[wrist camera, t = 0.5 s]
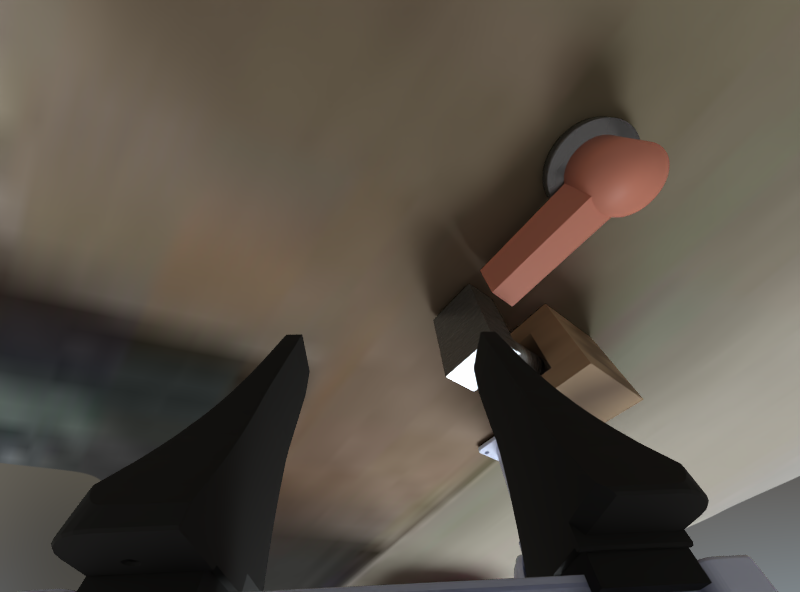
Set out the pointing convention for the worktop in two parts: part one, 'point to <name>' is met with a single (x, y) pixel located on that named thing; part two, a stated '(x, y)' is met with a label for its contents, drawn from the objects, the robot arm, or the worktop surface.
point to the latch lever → (578, 210)
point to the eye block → (576, 364)
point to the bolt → (473, 336)
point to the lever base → (574, 140)
